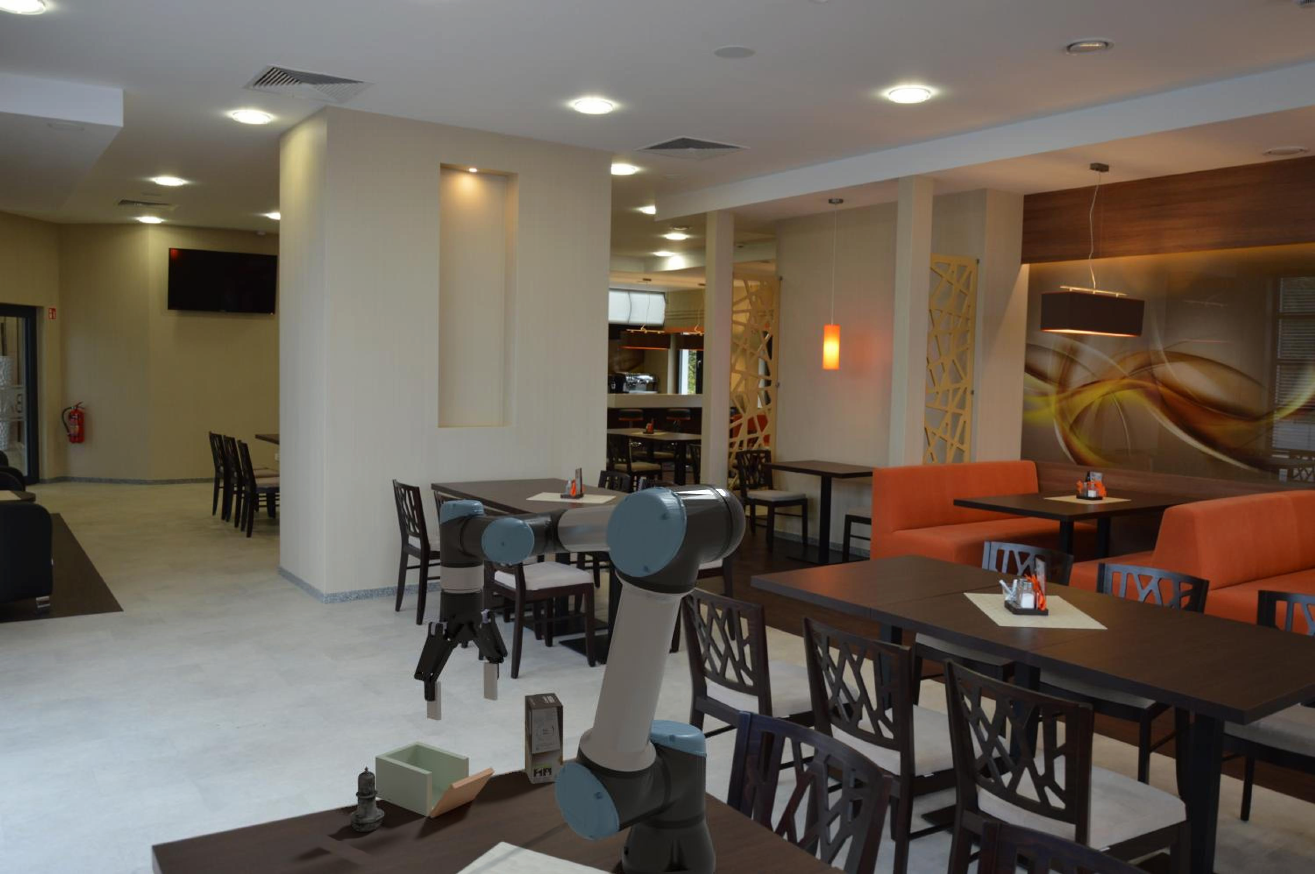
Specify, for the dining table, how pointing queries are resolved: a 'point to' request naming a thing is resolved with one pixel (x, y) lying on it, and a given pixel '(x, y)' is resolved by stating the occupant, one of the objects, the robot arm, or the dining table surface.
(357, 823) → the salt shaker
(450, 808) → the flat tan square board
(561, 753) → the coffee box
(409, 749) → the crate
